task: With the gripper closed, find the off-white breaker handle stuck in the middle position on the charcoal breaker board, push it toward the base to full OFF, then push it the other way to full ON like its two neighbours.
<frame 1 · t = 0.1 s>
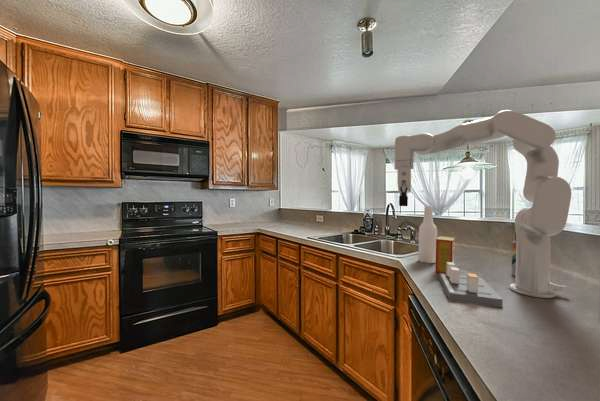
hand: (403, 205, 113), 31 cm above the counter, tool pointing down, fingers open, 9 cm apart
baking soda box: (445, 272, 123), on the counter
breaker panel: (466, 291, 98), on the counter
handle back: (450, 269, 107), point 6 cm above the counter, slide at 4.0 cm
alcohol: (427, 261, 141), on the counter
handle mid: (454, 275, 100), point 5 cm above the counter, slide at 4.0 cm
handle tripped: (472, 282, 91), point 6 cm above the counter, slide at 0.0 cm
lotion bottle: (519, 276, 117), on the counter
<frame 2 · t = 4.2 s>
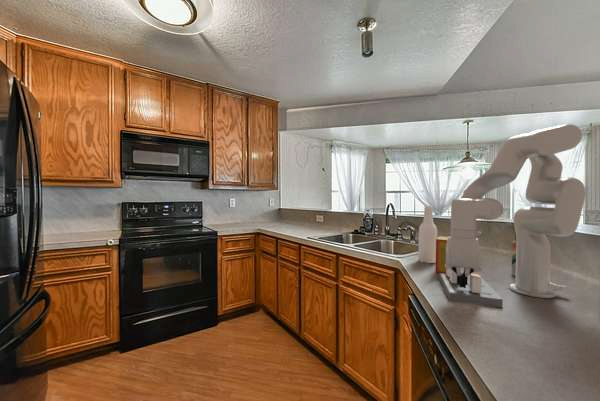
hand: (461, 286, 92), 4 cm above the counter, tool pointing down, fingers closed
handle tripped: (475, 283, 90), point 6 cm above the counter, slide at -0.9 cm, touching gripper
everything else where it was.
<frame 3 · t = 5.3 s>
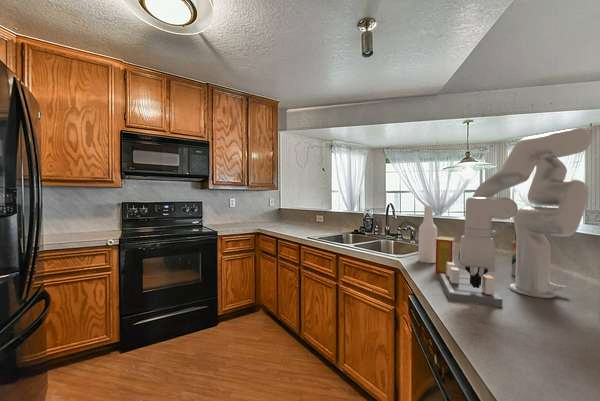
hand: (475, 286, 90), 5 cm above the counter, tool pointing down, fingers closed
handle tripped: (488, 284, 89), point 6 cm above the counter, slide at -4.6 cm, touching gripper
everything else where it was.
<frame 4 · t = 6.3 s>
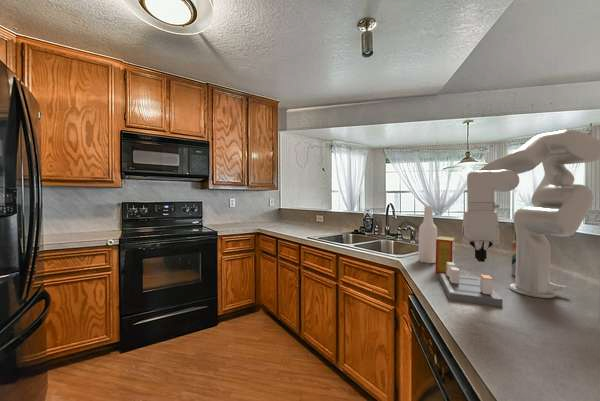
hand: (480, 260, 90), 13 cm above the counter, tool pointing down, fingers closed
handle tripped: (486, 284, 89), point 6 cm above the counter, slide at -4.1 cm
everything else where it was.
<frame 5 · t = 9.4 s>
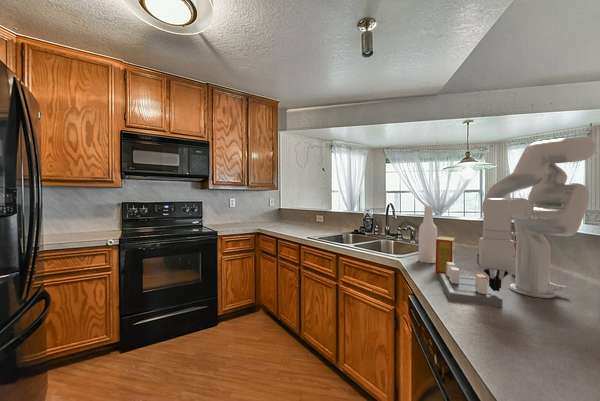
hand: (494, 289, 88), 4 cm above the counter, tool pointing down, fingers closed
handle tripped: (481, 283, 90), point 6 cm above the counter, slide at -2.6 cm, touching gripper
everything else where it was.
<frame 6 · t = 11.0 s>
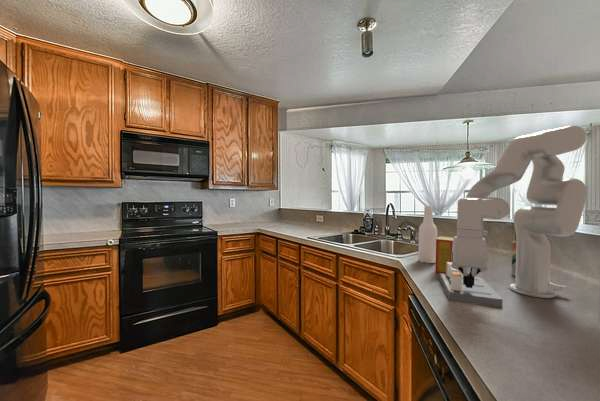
hand: (468, 286, 91), 4 cm above the counter, tool pointing down, fingers closed
handle tripped: (456, 281, 92), point 6 cm above the counter, slide at 4.9 cm, touching gripper
everything else where it was.
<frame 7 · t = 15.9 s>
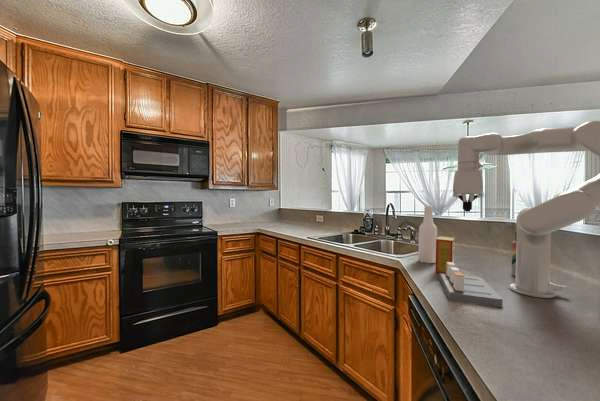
hand: (467, 211, 110), 29 cm above the counter, tool pointing down, fingers closed
handle tripped: (458, 281, 92), point 6 cm above the counter, slide at 4.1 cm
everything else where it was.
at the end: handle tripped slide at 4.1 cm; handle mid slide at 4.0 cm; handle back slide at 4.0 cm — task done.
